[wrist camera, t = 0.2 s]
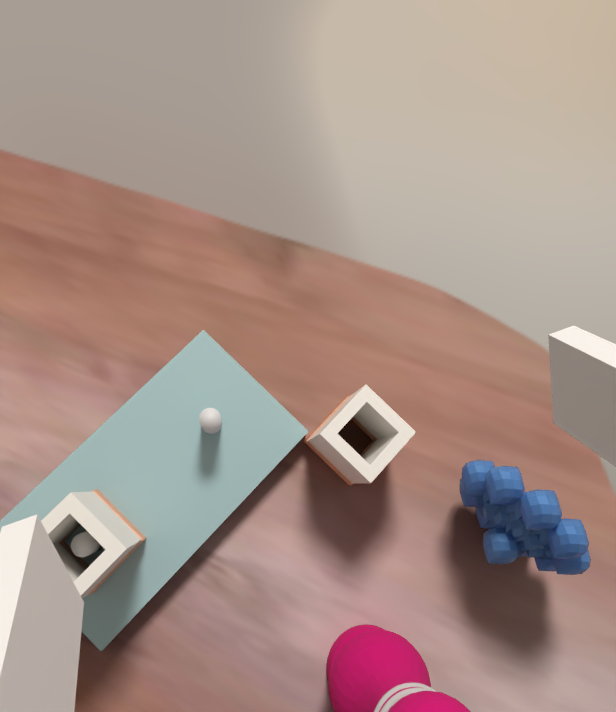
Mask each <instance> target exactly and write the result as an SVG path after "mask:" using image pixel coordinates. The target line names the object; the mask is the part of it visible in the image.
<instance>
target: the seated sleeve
mask: <svg viewBox="0 0 616 712" xmlns="http://www.w3.org/2000/svg"><path fill="white" fill-rule="evenodd" d="M41 522H42V524H43V526H44V528H45V530H46V532H47V534H48V535H49V537H50V539H51V541H52V543H53V545H54V547H55V549H56V550H57V552H58V554H59V556H60V558H61V560H62V562H63V564H64V566H65V567H66V569H67V571H68V573H69V575H70V577H71V579H72V581H73V582H74V584H75V586H76V588H77V590H78V592H79V594H80V596H81V597H82V599H83V598H84V597H85V596H86V595H90V594H92V593H93V592H94V591H95V590H96V589H97V588H98V587H99V586H100V585H101V584H102V583H103V582H104V581H105V580H106V579H107V578H108V577H109V576H110V575H111V574H112V573H113V572H114V571H115V570H116V569H117V567H118V566H119V565H120V564H121V563H122V562H123V561H124V560H125V559H126V558H127V557H128V556H129V555H130V554H131V553H132V552H133V551H134V550H135V549H136V548H137V547H138V546H139V545H140V544H141V543H142V542H143V541H144V540H145V539H146V537H145V536H144V535H143V534H142V533H141V532H140V531H139V530H138V529H137V528H136V527H135V526H134V525H133V524H132V523H131V522H130V521H129V520H128V519H127V518H126V517H125V516H124V515H123V514H122V513H121V511H120V510H119V509H118V508H117V507H116V506H115V505H114V504H113V503H112V502H111V501H110V500H109V499H108V498H107V497H106V496H105V495H104V494H103V493H102V492H101V491H100V490H99V489H94V490H93V491H91V492H71V493H70V494H69V495H68V496H66V497H65V498H64V499H63V500H62V501H61V502H60V503H59V504H58V505H57V506H56V507H55V508H54V509H53V510H52V511H51V512H50V513H49V514H48V515H47V516H46V517H45V518H44V519H43V520H41ZM80 525H82V526H83V527H84V528H85V529H86V530H87V531H88V532H89V533H90V534H91V535H92V536H93V537H94V538H95V539H96V540H97V541H98V542H99V543H100V545H101V546H102V547H103V548H104V549H105V551H104V552H103V553H102V554H101V555H100V556H99V557H98V558H97V559H96V560H95V561H94V562H93V563H92V564H91V565H90V566H89V565H88V564H87V563H86V562H85V561H84V560H83V559H82V558H81V557H78V556H76V555H75V554H74V553H73V552H72V550H71V547H70V546H69V545H68V544H67V543H66V542H65V540H66V539H67V538H68V537H69V536H70V535H71V534H72V533H73V532H74V531H75V530H76V529H77V528H78V527H79V526H80Z"/></svg>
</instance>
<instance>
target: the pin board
mask: <svg viewBox="0 0 616 712" xmlns="http://www.w3.org/2000/svg"><path fill="white" fill-rule="evenodd" d="M307 432H308V430H307V429H306V428H305V427H304V426H302V425H301V424H300V423H299V422H298V421H297V420H296V419H295V418H294V417H293V416H292V415H291V414H290V413H289V412H288V411H287V410H286V409H285V408H284V407H283V406H282V405H281V404H280V403H279V402H278V401H277V400H276V399H275V398H274V397H272V396H271V395H270V394H269V393H268V392H267V391H266V390H265V389H264V388H263V387H262V386H261V385H260V384H259V383H258V382H257V381H256V380H255V379H254V378H253V377H252V376H251V375H250V374H249V373H248V372H247V371H246V370H245V369H243V368H242V367H241V366H240V365H239V364H238V363H237V362H236V361H235V360H234V359H233V358H232V357H231V356H230V355H229V354H228V353H227V352H226V351H225V350H224V349H223V348H222V347H221V346H220V345H219V344H218V343H217V342H216V341H215V340H213V339H212V338H211V337H210V336H209V335H208V334H207V333H206V332H205V331H204V330H203V331H202V332H201V333H199V334H198V335H197V336H196V337H195V338H194V339H193V340H192V341H191V342H190V343H189V344H188V345H187V346H186V347H185V348H184V349H182V350H181V351H180V352H179V353H178V354H177V355H176V356H175V357H174V358H173V359H172V360H171V361H170V362H169V363H168V364H167V365H165V366H164V367H163V368H162V369H161V370H160V371H159V372H158V373H157V374H156V375H155V376H154V377H153V378H152V379H151V380H150V381H148V382H147V383H146V384H145V385H144V386H143V387H142V388H141V389H140V390H139V391H138V392H137V393H136V394H135V395H134V396H133V397H131V398H130V399H129V400H128V401H127V402H126V403H125V404H124V405H123V406H122V407H121V408H120V409H119V410H118V411H117V412H116V413H114V414H113V415H112V416H111V417H110V418H109V419H108V420H107V421H106V422H105V423H104V424H103V425H102V426H101V427H100V428H99V429H97V430H96V431H95V432H94V433H93V434H92V435H91V436H90V437H89V438H88V439H87V440H86V441H85V442H84V443H83V444H82V445H80V446H79V447H78V448H77V449H76V450H75V451H74V452H73V453H72V454H71V455H70V456H69V457H68V458H67V459H66V460H64V461H63V462H62V463H61V464H60V465H59V466H58V467H57V468H56V469H55V470H54V471H53V472H52V473H51V474H50V475H49V476H47V477H46V478H45V479H44V480H43V481H42V482H41V483H40V484H39V485H38V486H37V487H36V488H35V489H34V490H33V491H32V492H30V493H29V494H28V495H27V496H26V497H25V498H24V499H23V500H22V501H21V502H20V503H19V504H18V505H17V506H16V507H15V508H13V509H12V510H11V511H10V512H9V513H8V514H7V515H6V516H5V517H4V518H3V519H2V520H1V521H0V532H1V529H2V527H3V526H6V525H8V524H11V523H14V522H17V521H20V520H23V519H25V518H28V517H31V516H34V515H38V517H39V519H40V520H43V519H44V518H45V517H46V516H47V515H48V514H49V513H50V512H51V511H52V510H53V509H54V508H55V507H56V506H57V505H58V504H59V503H60V502H61V501H62V500H63V499H64V498H65V497H66V496H68V495H69V494H70V493H71V492H91V491H93V490H94V489H99V490H100V491H101V492H102V493H103V494H104V495H105V496H106V497H107V498H108V499H109V500H110V501H111V502H112V503H113V504H114V505H115V506H116V507H117V508H118V509H119V510H120V511H121V513H122V514H123V515H124V516H125V517H126V518H127V519H128V520H129V521H130V522H131V523H132V524H133V525H134V526H135V527H136V528H137V529H138V530H139V531H140V532H141V533H142V534H143V535H144V536H145V537H146V539H145V540H144V541H143V542H142V543H141V544H140V545H139V546H138V547H137V548H136V549H135V550H134V551H133V552H132V553H131V554H130V555H129V556H128V557H127V558H126V559H125V560H124V561H123V562H122V563H121V564H120V565H119V566H118V567H117V569H116V570H115V571H114V572H113V573H112V574H111V575H110V576H109V577H108V578H107V579H106V580H105V581H104V582H103V583H102V584H101V585H100V586H99V587H98V588H97V589H96V590H95V591H94V592H93V593H92V594H90V595H86V596H85V597H84V598H83V601H84V608H83V619H82V630H81V632H82V633H83V634H84V635H85V636H86V637H87V638H88V639H89V640H90V641H91V642H92V643H93V644H94V645H95V646H96V647H97V648H98V649H99V650H100V651H102V650H103V649H104V648H105V647H106V646H107V645H108V644H109V643H110V642H111V641H112V640H113V639H114V638H115V637H116V635H117V634H118V633H119V632H120V631H121V630H122V629H123V628H124V627H125V626H126V625H127V624H128V623H129V622H130V621H131V619H132V618H133V617H134V616H135V615H136V614H137V613H138V612H139V611H140V610H141V609H142V608H143V607H144V606H145V605H146V604H147V602H148V601H149V600H150V599H151V598H152V597H153V596H154V595H155V594H156V593H157V592H158V591H159V590H160V589H161V588H162V587H163V585H164V584H165V583H166V582H167V581H168V580H169V579H170V578H171V577H172V576H173V575H174V574H175V573H176V572H177V571H178V570H179V568H180V567H181V566H182V565H183V564H184V563H185V562H186V561H187V560H188V559H189V558H190V557H191V556H192V555H193V554H194V553H195V551H196V550H197V549H198V548H199V547H200V546H201V545H202V544H203V543H204V542H205V541H206V540H207V539H208V538H209V537H210V536H211V534H212V533H213V532H214V531H215V530H216V529H217V528H218V527H219V526H220V525H221V524H222V523H223V522H224V521H225V520H226V519H227V517H228V516H229V515H230V514H231V513H232V512H233V511H234V510H235V509H236V508H237V507H238V506H239V505H240V504H241V503H242V502H243V500H244V499H245V498H246V497H247V496H248V495H249V494H250V493H251V492H252V491H253V490H254V489H255V488H256V487H257V486H258V485H259V483H260V482H261V481H262V480H263V479H264V478H265V477H266V476H267V475H268V474H269V473H270V472H271V471H272V470H273V469H274V468H275V466H276V465H277V464H278V463H279V462H280V461H281V460H282V459H283V458H284V457H285V456H286V455H287V454H288V453H289V452H290V451H291V449H292V448H293V447H294V446H295V445H296V444H297V443H298V442H299V441H300V440H301V439H302V438H303V437H304V436H305V435H306V434H307ZM65 542H66V543H67V544H68V545H69V546H70V547H71V550H72V552H73V553H74V554H75V555H76V556H78V557H81V558H82V559H83V560H84V561H85V562H86V563H87V564H88V565H89V566H90V565H91V564H92V563H93V562H94V561H95V560H96V559H97V558H98V557H99V556H100V555H101V554H102V553H103V552H104V551H105V549H104V548H103V547H102V546H101V545H100V543H99V542H98V541H97V540H96V539H95V538H94V537H93V536H92V535H91V534H90V533H89V532H88V531H87V530H86V529H85V528H84V527H83V526H82V525H80V526H79V527H78V528H77V529H76V530H75V531H74V532H73V533H72V534H71V535H70V536H69V537H68V538H67V539H66V540H65Z"/></svg>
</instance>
